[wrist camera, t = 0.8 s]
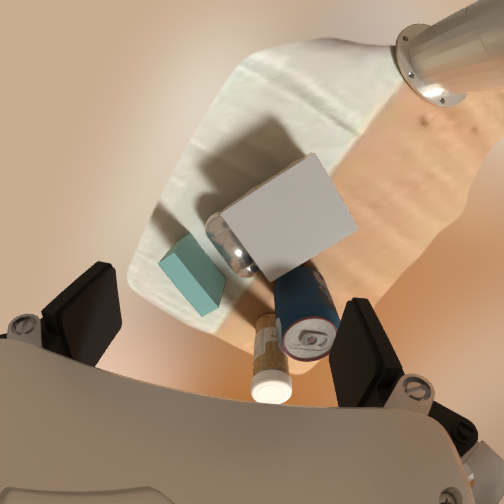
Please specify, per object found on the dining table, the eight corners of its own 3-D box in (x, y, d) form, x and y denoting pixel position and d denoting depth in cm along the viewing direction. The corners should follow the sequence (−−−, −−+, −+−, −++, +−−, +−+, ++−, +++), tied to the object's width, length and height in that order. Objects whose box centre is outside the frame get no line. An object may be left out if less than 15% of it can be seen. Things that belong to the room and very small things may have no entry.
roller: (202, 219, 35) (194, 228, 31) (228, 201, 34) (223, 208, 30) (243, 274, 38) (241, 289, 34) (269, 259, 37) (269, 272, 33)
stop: (189, 232, 36) (174, 252, 30) (226, 279, 38) (218, 307, 32) (175, 242, 37) (157, 263, 30) (211, 288, 39) (201, 316, 32)
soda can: (268, 302, 39) (268, 360, 28) (281, 257, 37) (287, 306, 26) (315, 311, 40) (329, 369, 28) (330, 268, 37) (355, 319, 26)
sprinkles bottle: (292, 322, 40) (301, 391, 28) (272, 341, 42) (274, 411, 29) (267, 306, 40) (268, 375, 27) (248, 327, 41) (242, 396, 28)
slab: (310, 152, 28) (314, 153, 26) (351, 222, 30) (358, 229, 28) (223, 208, 30) (220, 213, 28) (269, 272, 33) (269, 282, 31)
